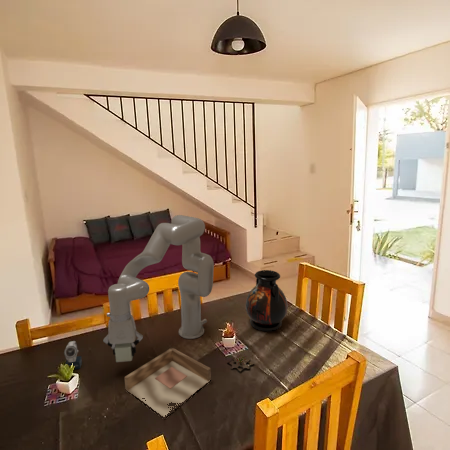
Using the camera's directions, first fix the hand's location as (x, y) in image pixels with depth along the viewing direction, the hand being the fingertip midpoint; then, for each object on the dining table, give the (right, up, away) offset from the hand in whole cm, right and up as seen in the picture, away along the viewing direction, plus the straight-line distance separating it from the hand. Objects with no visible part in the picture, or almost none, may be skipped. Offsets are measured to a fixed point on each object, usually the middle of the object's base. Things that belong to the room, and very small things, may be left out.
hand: (125, 354), depth 133 cm
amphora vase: (+62, 0, +39) cm, 73 cm away
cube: (0, -1, 0) cm, 1 cm away
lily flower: (+47, -7, +7) cm, 48 cm away
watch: (-23, -7, +5) cm, 25 cm away
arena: (+19, -10, -6) cm, 22 cm away
